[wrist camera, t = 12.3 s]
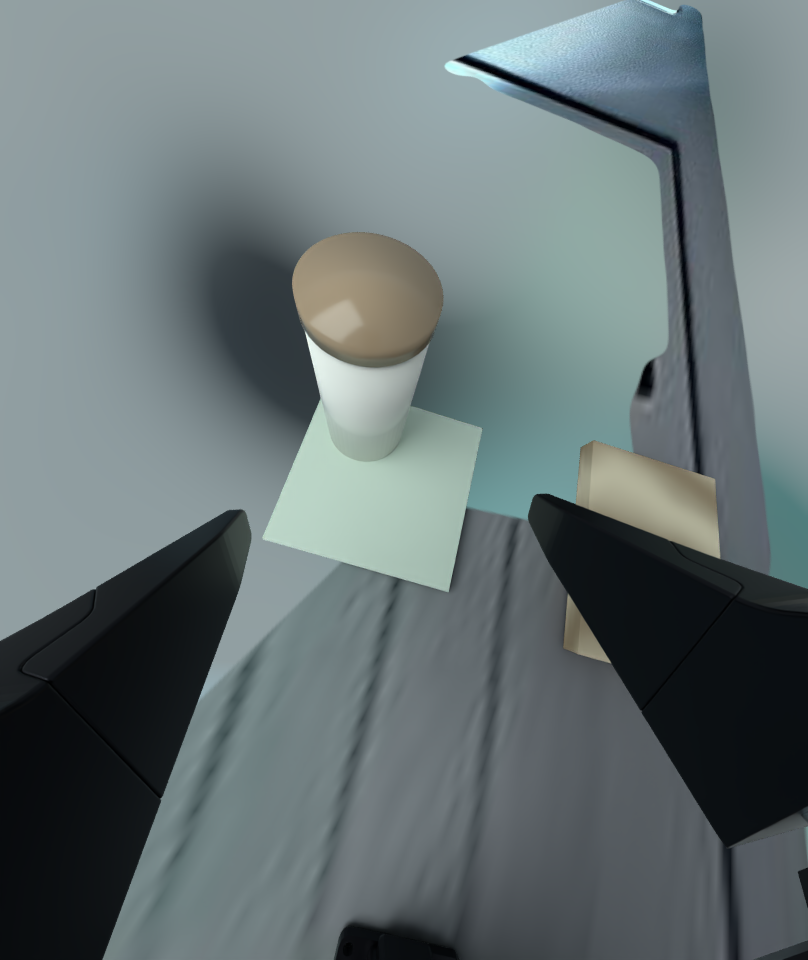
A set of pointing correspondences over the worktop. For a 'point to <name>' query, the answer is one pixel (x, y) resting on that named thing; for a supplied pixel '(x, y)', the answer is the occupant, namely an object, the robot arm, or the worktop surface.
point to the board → (641, 512)
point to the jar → (366, 334)
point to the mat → (382, 500)
